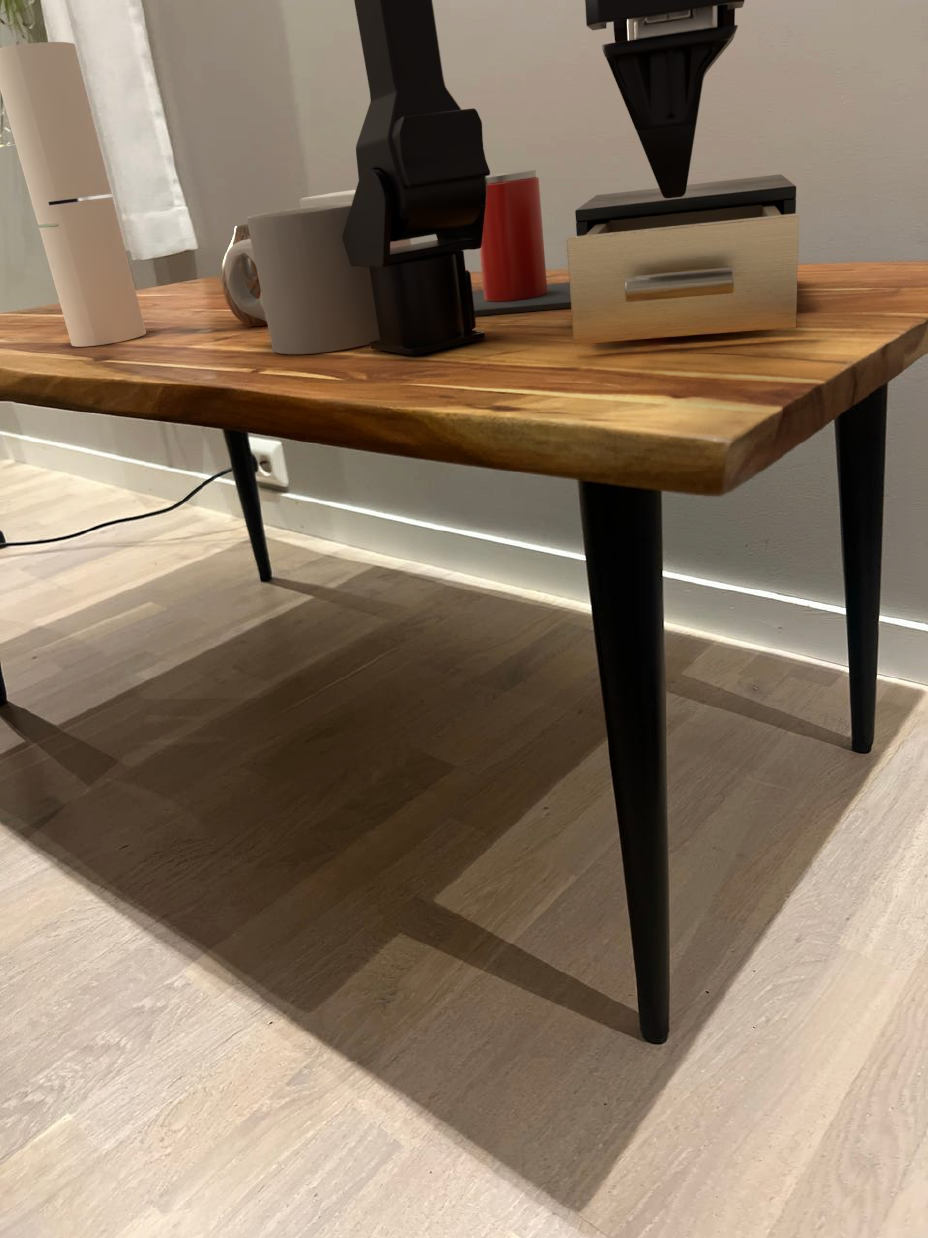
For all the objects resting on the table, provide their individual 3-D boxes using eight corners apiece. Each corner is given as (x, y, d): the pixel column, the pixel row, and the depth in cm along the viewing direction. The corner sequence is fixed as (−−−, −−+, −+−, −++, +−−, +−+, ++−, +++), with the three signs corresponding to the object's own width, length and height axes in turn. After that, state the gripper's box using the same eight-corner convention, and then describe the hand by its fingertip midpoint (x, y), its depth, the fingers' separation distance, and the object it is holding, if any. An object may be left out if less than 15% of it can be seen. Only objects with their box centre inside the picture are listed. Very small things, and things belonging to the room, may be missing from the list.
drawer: (801, 341, 56) (805, 221, 53) (565, 358, 59) (557, 246, 56) (781, 292, 71) (783, 197, 68) (594, 308, 74) (589, 218, 72)
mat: (575, 307, 81) (575, 301, 81) (435, 319, 84) (434, 313, 84) (590, 285, 92) (590, 279, 92) (465, 296, 95) (464, 291, 95)
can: (510, 303, 84) (498, 175, 80) (472, 300, 89) (458, 178, 84) (560, 291, 87) (551, 167, 83) (520, 289, 91) (510, 171, 87)
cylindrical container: (132, 341, 94) (56, 38, 83) (60, 349, 95) (-26, 50, 84) (155, 328, 100) (87, 46, 90) (87, 336, 101) (11, 56, 90)
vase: (264, 329, 91) (244, 227, 87) (215, 329, 95) (194, 231, 91) (317, 315, 95) (300, 217, 92) (269, 315, 99) (251, 221, 96)
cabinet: (793, 312, 69) (796, 185, 65) (582, 329, 72) (574, 209, 69) (779, 281, 81) (781, 173, 78) (601, 297, 85) (595, 195, 81)
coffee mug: (417, 327, 82) (399, 196, 77) (346, 353, 74) (322, 210, 70) (292, 330, 88) (269, 209, 84) (215, 355, 81) (186, 224, 77)
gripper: (899, -310, 33) (871, 191, 40) (836, -171, 50) (823, 169, 56) (570, -238, 36) (595, 220, 43) (612, -129, 52) (625, 191, 59)
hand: (674, 196), depth 50 cm, fingers closed
